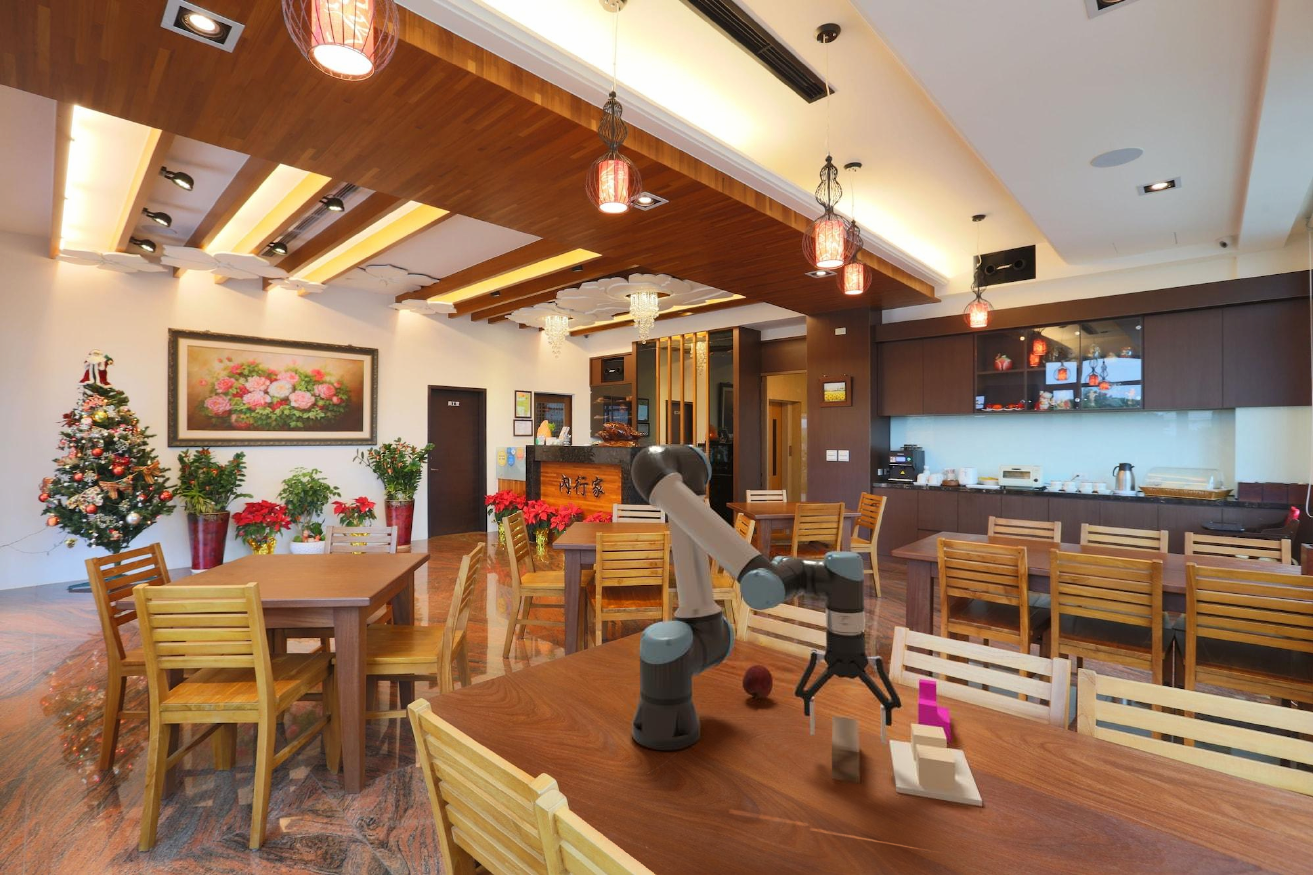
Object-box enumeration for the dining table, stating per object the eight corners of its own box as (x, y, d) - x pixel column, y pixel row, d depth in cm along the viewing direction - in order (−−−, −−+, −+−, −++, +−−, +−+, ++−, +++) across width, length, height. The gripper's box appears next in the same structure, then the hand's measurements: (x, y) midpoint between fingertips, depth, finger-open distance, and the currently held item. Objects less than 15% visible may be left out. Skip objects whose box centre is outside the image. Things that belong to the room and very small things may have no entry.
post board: (896, 791, 108) (896, 759, 109) (889, 744, 126) (889, 716, 126) (982, 806, 104) (982, 772, 104) (962, 755, 121) (962, 725, 121)
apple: (779, 698, 148) (779, 666, 148) (756, 706, 144) (756, 673, 144) (758, 688, 154) (758, 657, 154) (736, 695, 150) (736, 664, 150)
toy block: (950, 743, 126) (950, 708, 127) (918, 737, 129) (918, 703, 129) (948, 714, 140) (947, 683, 140) (919, 709, 143) (919, 678, 143)
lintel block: (831, 779, 113) (831, 748, 113) (832, 744, 126) (832, 715, 126) (859, 784, 111) (859, 752, 111) (857, 747, 125) (857, 719, 125)
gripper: (780, 630, 119) (782, 736, 119) (914, 640, 112) (917, 754, 111) (784, 620, 126) (786, 720, 126) (910, 629, 119) (912, 735, 118)
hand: (847, 736), depth 119 cm, fingers open, 13 cm apart
